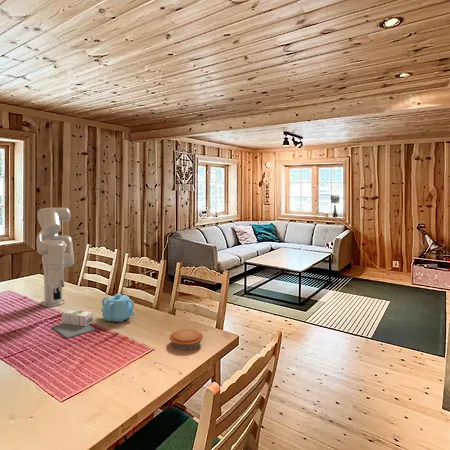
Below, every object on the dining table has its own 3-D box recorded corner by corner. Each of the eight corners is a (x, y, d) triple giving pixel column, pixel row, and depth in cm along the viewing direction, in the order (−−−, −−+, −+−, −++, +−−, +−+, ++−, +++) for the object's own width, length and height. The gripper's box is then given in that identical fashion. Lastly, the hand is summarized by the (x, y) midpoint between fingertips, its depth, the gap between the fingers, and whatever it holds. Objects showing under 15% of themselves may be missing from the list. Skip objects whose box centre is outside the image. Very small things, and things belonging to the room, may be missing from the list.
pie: (209, 346, 153) (209, 336, 153) (179, 355, 144) (179, 344, 144) (192, 334, 166) (192, 324, 165) (163, 341, 157) (163, 331, 156)
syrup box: (61, 323, 172) (86, 327, 169) (61, 312, 171) (85, 316, 168) (69, 319, 178) (93, 322, 174) (69, 308, 177) (92, 312, 173)
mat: (51, 327, 168) (51, 326, 168) (79, 320, 178) (79, 319, 178) (67, 338, 156) (67, 337, 156) (95, 330, 167) (95, 328, 167)
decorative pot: (136, 321, 179) (136, 297, 178) (104, 326, 172) (104, 300, 170) (130, 311, 193) (130, 288, 192) (100, 315, 186) (100, 291, 185)
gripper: (43, 264, 179) (44, 297, 182) (54, 270, 170) (55, 304, 172) (57, 262, 185) (58, 294, 187) (69, 267, 175) (70, 301, 178)
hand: (57, 299), depth 180 cm, fingers closed
